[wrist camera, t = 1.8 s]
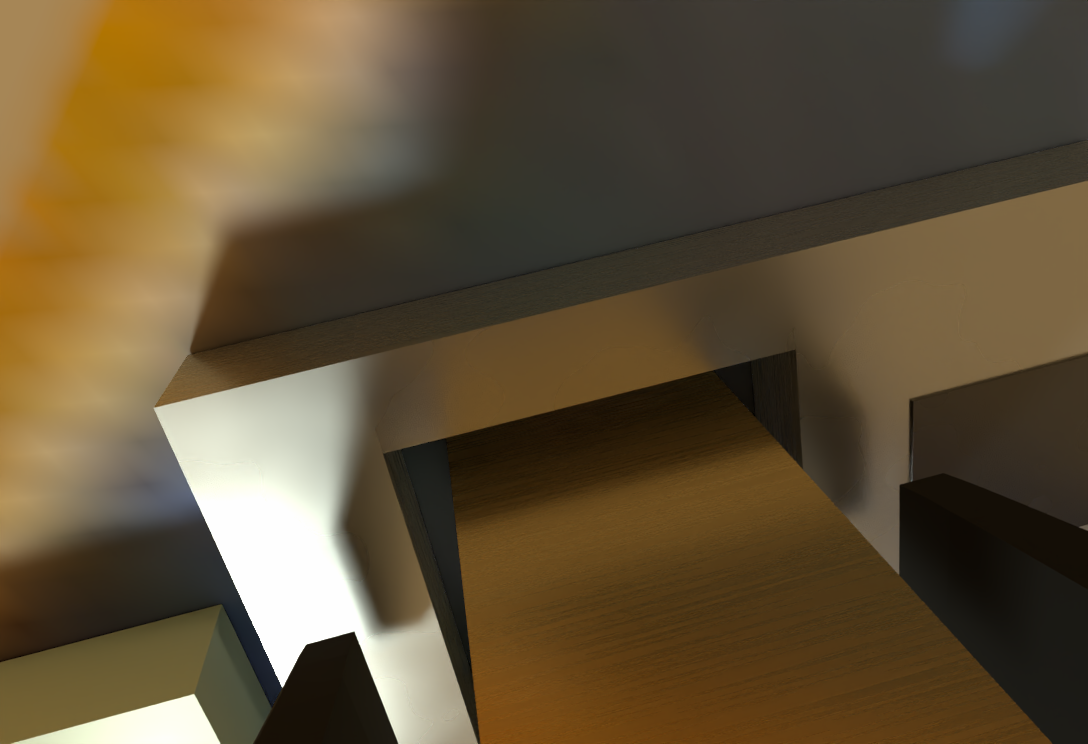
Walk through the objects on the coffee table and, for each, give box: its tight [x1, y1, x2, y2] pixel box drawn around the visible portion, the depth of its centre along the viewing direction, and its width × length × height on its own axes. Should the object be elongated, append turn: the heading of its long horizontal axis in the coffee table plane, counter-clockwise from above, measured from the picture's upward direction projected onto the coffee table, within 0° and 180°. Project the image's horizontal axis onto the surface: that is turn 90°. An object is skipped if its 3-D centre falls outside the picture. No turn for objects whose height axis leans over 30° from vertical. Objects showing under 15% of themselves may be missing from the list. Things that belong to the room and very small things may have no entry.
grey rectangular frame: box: [154, 140, 1088, 744], centre depth 12 cm, size 13×8×2 cm, turn 101°
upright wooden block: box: [446, 370, 1052, 744], centre depth 9 cm, size 4×4×7 cm
